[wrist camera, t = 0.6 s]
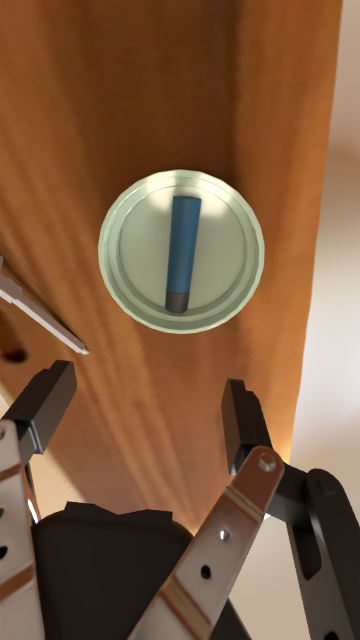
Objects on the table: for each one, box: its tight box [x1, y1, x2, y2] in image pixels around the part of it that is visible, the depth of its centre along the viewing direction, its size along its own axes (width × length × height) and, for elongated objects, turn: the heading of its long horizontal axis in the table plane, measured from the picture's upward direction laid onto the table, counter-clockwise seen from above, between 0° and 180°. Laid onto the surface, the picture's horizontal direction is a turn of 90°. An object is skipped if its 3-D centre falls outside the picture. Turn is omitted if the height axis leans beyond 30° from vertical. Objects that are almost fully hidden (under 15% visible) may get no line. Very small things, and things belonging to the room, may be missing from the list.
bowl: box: [98, 169, 264, 334], centre depth 31 cm, size 19×19×4 cm
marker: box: [165, 196, 202, 313], centre depth 32 cm, size 14×3×3 cm, turn 174°
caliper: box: [0, 256, 89, 355], centre depth 36 cm, size 20×1×6 cm, turn 30°
